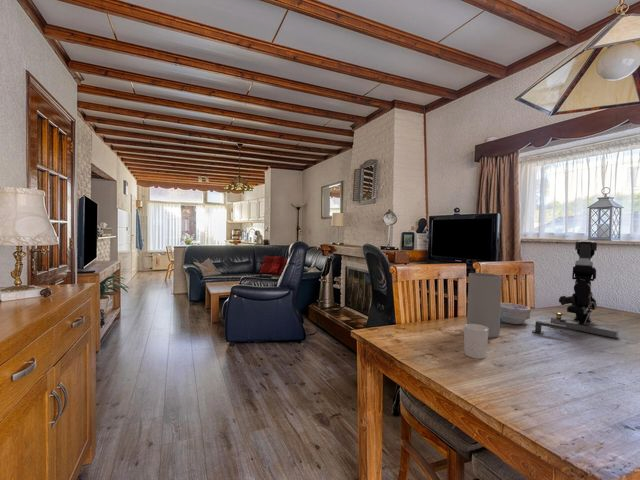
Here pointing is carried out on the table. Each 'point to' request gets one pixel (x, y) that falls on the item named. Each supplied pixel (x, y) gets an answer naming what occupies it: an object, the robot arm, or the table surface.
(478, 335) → the white cup
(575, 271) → the robot arm
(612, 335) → the link
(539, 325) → the keeper
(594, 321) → the table surface
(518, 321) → the paper bowls
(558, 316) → the pintle
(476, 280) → the tall grey block
